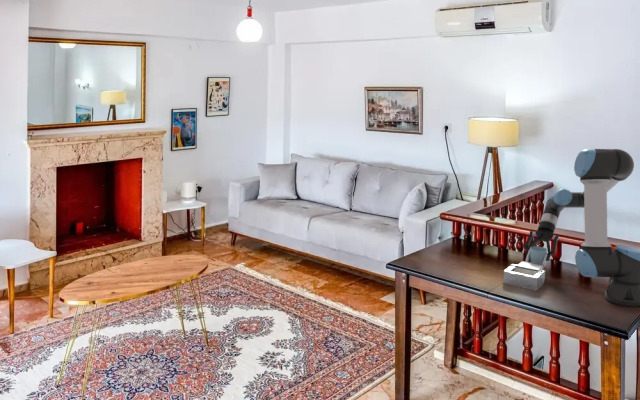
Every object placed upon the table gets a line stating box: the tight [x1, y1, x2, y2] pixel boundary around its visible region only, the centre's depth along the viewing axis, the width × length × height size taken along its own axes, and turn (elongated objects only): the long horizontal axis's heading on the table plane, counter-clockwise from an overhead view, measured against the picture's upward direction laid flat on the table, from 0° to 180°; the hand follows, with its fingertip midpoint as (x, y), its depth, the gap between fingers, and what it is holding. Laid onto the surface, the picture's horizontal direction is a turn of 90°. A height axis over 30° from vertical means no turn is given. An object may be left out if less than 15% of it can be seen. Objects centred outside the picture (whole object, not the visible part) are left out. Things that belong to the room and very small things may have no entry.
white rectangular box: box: [502, 263, 546, 291], centre depth 256 cm, size 12×15×6 cm
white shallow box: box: [510, 261, 545, 276], centre depth 261 cm, size 11×14×6 cm
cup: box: [529, 245, 548, 265], centre depth 270 cm, size 8×8×10 cm
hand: (534, 264), depth 267 cm, fingers closed on cup, 7 cm apart
